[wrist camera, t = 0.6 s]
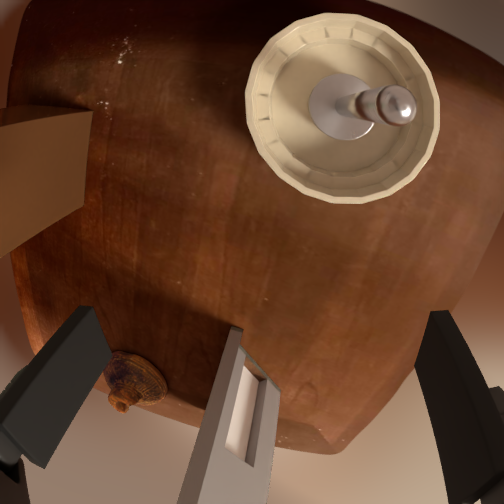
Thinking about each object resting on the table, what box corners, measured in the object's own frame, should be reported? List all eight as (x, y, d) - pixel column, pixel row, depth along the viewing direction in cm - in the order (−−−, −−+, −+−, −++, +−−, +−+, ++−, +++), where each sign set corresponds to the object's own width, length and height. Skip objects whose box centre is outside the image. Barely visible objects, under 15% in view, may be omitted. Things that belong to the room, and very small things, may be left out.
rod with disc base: (317, 68, 26) (347, 9, 9) (377, 89, 26) (481, 73, 9) (300, 126, 28) (306, 151, 11) (359, 145, 28) (440, 202, 11)
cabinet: (231, 326, 41) (165, 538, 16) (302, 344, 40) (288, 561, 15) (208, 411, 50) (164, 556, 25) (261, 425, 50) (235, 572, 25)
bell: (133, 340, 45) (112, 373, 38) (182, 390, 48) (169, 424, 42) (94, 358, 49) (74, 387, 42) (139, 402, 52) (125, 431, 46)
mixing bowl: (278, 11, 24) (274, -9, 19) (432, 66, 24) (458, 60, 19) (237, 159, 31) (224, 171, 26) (386, 207, 31) (402, 228, 26)
